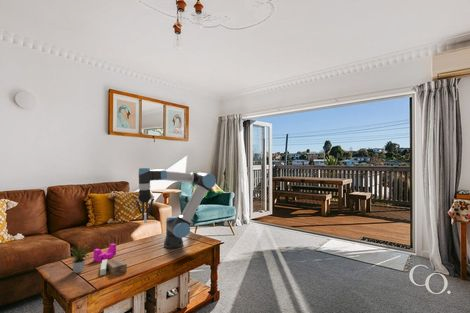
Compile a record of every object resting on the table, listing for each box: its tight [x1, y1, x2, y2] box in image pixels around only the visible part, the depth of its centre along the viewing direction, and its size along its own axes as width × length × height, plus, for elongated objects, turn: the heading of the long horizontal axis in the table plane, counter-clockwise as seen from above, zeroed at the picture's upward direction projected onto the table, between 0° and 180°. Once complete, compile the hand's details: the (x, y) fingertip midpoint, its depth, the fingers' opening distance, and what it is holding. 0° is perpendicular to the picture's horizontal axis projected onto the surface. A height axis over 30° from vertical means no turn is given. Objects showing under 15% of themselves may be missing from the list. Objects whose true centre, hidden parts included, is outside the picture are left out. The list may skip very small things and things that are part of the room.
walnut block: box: [106, 258, 128, 276], centre depth 157 cm, size 8×12×5 cm, turn 43°
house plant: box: [67, 244, 90, 274], centre depth 155 cm, size 14×14×16 cm
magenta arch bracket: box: [93, 243, 117, 263], centre depth 178 cm, size 15×6×8 cm, turn 155°
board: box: [99, 259, 109, 276], centre depth 158 cm, size 3×16×4 cm, turn 23°
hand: (145, 222), depth 179 cm, fingers closed
